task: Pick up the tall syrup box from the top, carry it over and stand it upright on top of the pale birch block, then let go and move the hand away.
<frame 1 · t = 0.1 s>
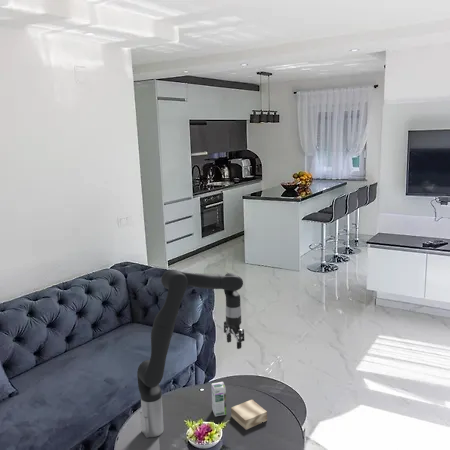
hand: (234, 345, 226), 29 cm above the table, tool pointing down, fingers open, 8 cm apart
syrup box: (219, 412, 221), on the table
birch block: (249, 419, 215), on the table
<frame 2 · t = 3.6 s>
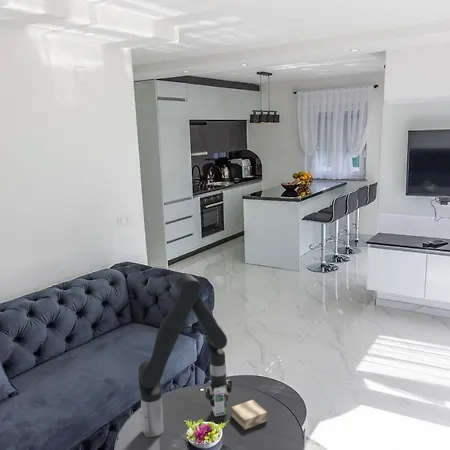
hand: (219, 403, 220), 5 cm above the table, tool pointing down, fingers closed on syrup box, 6 cm apart
syrup box: (219, 412, 221), on the table, touching gripper
everything else where it was.
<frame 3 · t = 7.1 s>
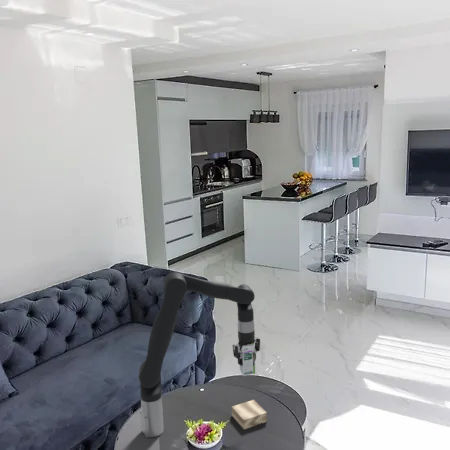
hand: (247, 362, 210), 28 cm above the table, tool pointing down, fingers closed on syrup box, 6 cm apart
syrup box: (247, 372, 211), point 23 cm above the table, touching gripper
everything else where it was.
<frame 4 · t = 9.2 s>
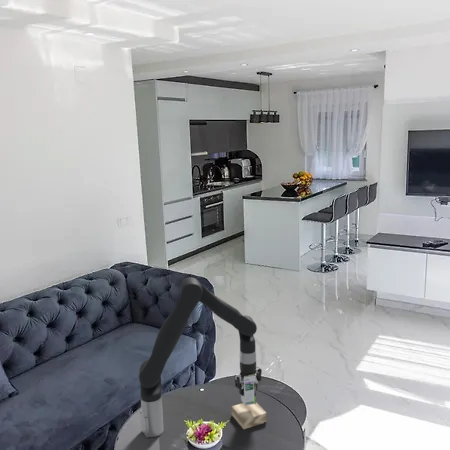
hand: (248, 392, 213), 13 cm above the table, tool pointing down, fingers closed on syrup box, 6 cm apart
syrup box: (248, 402, 214), point 8 cm above the table, touching gripper
everything else where it was.
when the fingers open (11 cm above the table, at t = 10.7 s): syrup box drops 2 cm, resting on birch block.
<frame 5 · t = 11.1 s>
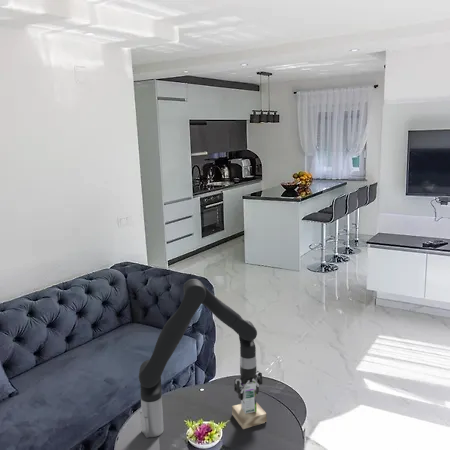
hand: (248, 396, 213), 11 cm above the table, tool pointing down, fingers open, 8 cm apart
syrup box: (248, 410, 214), point 4 cm above the table, touching birch block
birch block: (249, 419, 216), on the table, touching syrup box
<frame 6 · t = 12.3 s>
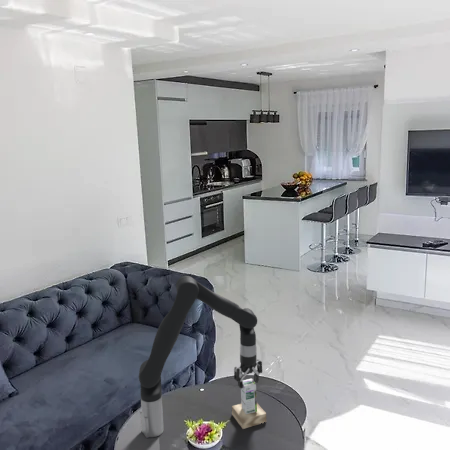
hand: (248, 384, 212), 17 cm above the table, tool pointing down, fingers open, 8 cm apart
syrup box: (249, 410, 214), point 4 cm above the table
birch block: (249, 419, 216), on the table
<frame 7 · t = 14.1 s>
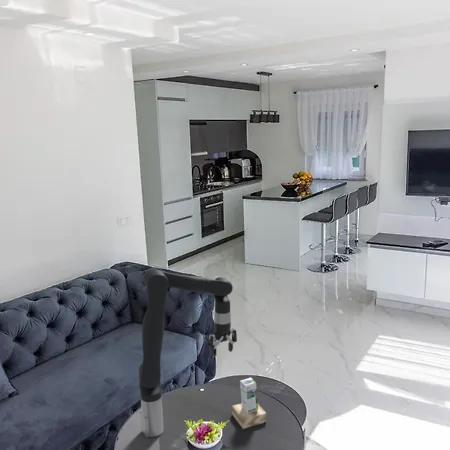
hand: (222, 353, 215), 31 cm above the table, tool pointing down, fingers open, 8 cm apart
syrup box: (249, 409, 215), point 4 cm above the table, touching birch block
birch block: (249, 419, 216), on the table, touching syrup box
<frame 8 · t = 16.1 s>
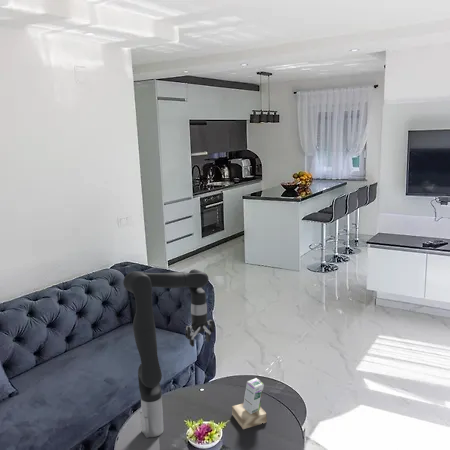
hand: (200, 343, 219), 33 cm above the table, tool pointing down, fingers open, 8 cm apart
at the end: syrup box inside the target area on the birch block (0.9 cm from its centre), point 5.5 cm above the birch block's base; syrup box tilted 11°; syrup box touching birch block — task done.
